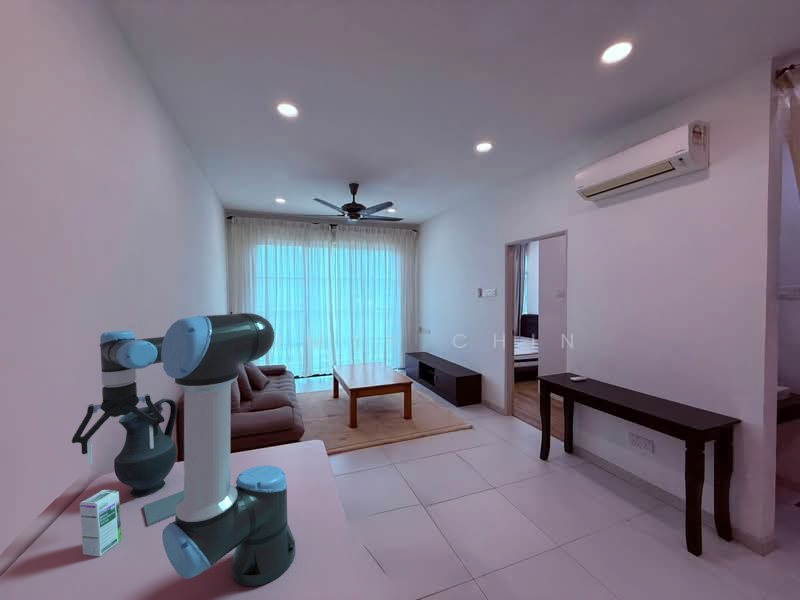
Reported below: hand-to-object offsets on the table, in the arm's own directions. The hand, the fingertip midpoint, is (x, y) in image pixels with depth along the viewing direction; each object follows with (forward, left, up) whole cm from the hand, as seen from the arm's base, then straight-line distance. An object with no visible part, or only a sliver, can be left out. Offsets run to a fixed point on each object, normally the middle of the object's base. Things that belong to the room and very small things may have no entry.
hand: (122, 455), depth 93 cm
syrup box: (-4, +5, -23) cm, 24 cm away
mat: (+3, -11, -23) cm, 25 cm away
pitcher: (+22, -9, -23) cm, 33 cm away
